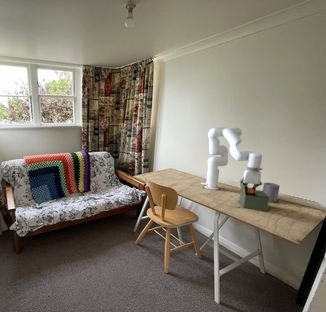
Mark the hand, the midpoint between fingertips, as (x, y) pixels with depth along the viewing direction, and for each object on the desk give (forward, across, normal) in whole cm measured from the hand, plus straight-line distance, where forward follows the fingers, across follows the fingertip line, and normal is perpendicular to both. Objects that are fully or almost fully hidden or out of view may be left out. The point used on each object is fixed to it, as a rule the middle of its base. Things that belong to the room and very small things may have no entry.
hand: (249, 191), depth 149 cm
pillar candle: (+12, -19, -19) cm, 29 cm away
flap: (-3, +4, 0) cm, 5 cm away
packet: (+1, 0, 0) cm, 1 cm away
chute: (+12, -3, 0) cm, 12 cm away
